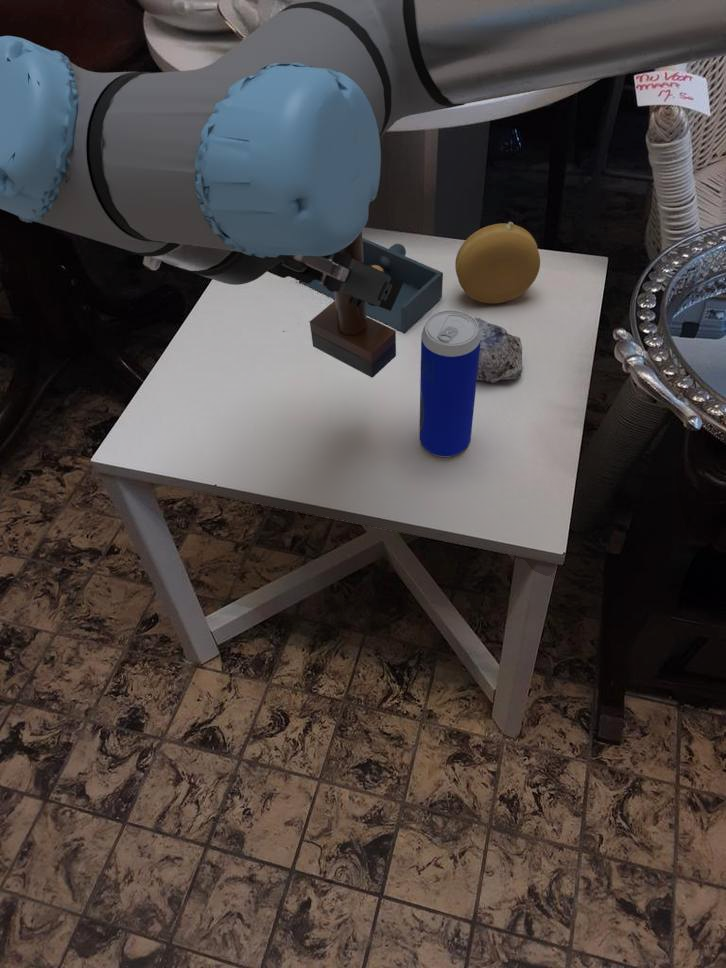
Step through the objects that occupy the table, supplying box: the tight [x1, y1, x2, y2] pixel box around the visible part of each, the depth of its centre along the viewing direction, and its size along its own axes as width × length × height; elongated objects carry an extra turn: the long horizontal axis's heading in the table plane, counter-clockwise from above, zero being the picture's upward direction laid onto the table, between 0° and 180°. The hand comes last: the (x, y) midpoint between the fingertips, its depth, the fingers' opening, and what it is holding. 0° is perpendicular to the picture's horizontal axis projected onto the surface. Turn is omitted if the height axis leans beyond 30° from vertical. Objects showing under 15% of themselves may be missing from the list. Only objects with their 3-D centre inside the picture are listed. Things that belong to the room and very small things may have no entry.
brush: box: [309, 230, 397, 379], centre depth 65 cm, size 7×4×14 cm, turn 52°
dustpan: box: [298, 237, 444, 334], centre depth 92 cm, size 10×16×4 cm, turn 52°
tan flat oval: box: [454, 221, 541, 304], centre depth 87 cm, size 9×4×10 cm, turn 94°
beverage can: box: [418, 309, 481, 458], centre depth 72 cm, size 5×5×15 cm
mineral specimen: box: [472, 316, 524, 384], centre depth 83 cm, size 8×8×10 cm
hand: (378, 288), depth 68 cm, fingers closed on brush, 3 cm apart
